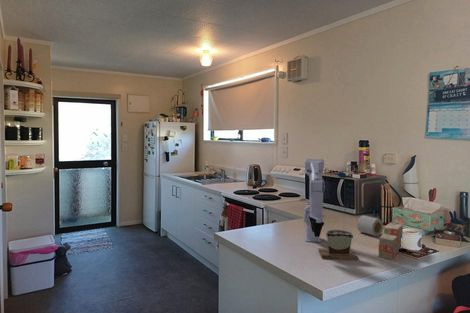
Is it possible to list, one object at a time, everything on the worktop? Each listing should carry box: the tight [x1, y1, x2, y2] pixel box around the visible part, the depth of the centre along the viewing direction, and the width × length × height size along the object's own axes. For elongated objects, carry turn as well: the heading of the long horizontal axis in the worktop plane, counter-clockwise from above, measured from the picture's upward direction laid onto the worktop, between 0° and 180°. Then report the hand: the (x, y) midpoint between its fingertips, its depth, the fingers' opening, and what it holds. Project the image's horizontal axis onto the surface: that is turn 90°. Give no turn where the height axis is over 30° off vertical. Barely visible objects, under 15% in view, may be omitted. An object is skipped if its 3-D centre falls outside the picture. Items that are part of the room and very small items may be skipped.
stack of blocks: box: [378, 222, 404, 260], centre depth 163 cm, size 21×6×12 cm, turn 143°
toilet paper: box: [356, 215, 384, 237], centre depth 194 cm, size 10×10×10 cm
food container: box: [325, 229, 354, 255], centre depth 158 cm, size 12×6×10 cm, turn 86°
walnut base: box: [317, 247, 359, 261], centre depth 158 cm, size 10×16×2 cm, turn 86°
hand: (315, 234), depth 158 cm, fingers open, 7 cm apart
